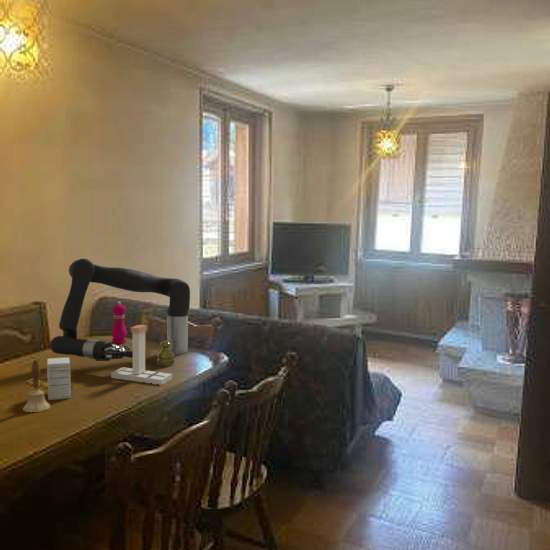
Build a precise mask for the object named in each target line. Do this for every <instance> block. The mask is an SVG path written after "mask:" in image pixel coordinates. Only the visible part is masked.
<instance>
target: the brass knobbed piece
mask: <svg viewBox="0 0 550 550" xmlns="http://www.w3.org/2000/svg"><path fill="white" fill-rule="evenodd" d="M159 345H160V346H161V347H162V348H161V350H160V351H159V352H157V354H156V357H157V359H156V364H157V366H159V365H160V367H169V366H170V365H171V366H173V364H174V365H175V363H176V362H175V360H176V358H175V356H176V354H175V353H174V352H172V351H171V350H170V349H169V347H170V346H171V345H172V343H171V342H169V341H167V339H166V340H164V341H161V342H160V343H159ZM171 366H170V367H171Z"/></svg>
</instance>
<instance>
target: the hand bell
mask: <svg viewBox="0 0 550 550" xmlns="http://www.w3.org/2000/svg"><path fill="white" fill-rule="evenodd" d="M30 373H31V376H32V380H33V382H32V383H33V384H32V385H33V388H32V390H31V391H29V393H28V399H27V402H26V404H25V405H24V406H23V408H22V411H23V412H24V411H25V412H24V413H28V412H31V414H33V413H32V412H34V414H35V413H41V412H45V411H48V410H49V409H50V408H51V404H50V403H49V402H47V400H46V397H45V392H44V391H43V390H41V389H40V386H39V385H40V384H39V383H40V382H39V379H40V375H41V367H40V363H39V361H38V359H33V361H32V364H31V372H30Z"/></svg>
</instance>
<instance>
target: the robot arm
mask: <svg viewBox="0 0 550 550" xmlns="http://www.w3.org/2000/svg"><path fill="white" fill-rule="evenodd" d="M68 273H69V276H70V278H71V285H70V289H69V293H68V296H67V298H66V301H65V303H64V306H63V309H62V313H61V316H60V321H59V323H58V328H59V329H60V330H61V331H62V335H57V336H55V337H53V338H52V339H51V340H50V343H49V348H50V351H52V352H53V353H54V354H58V355H65V356H66V355H67V356H69V355H70V356H71V355H72V356H75V357H80V358H81V357H82V358H87V359H91V360H95V361H102V362H103V361H110V360H109V359H111V360H118V359H119V360H120V359H123V358H124V359H126V358H130V359H133V350H131V348H130V347H128V346H127V345H123V346H118V345H117V346H114V347H113V346H112V344H113V343H112V342H111V341H109V340H108V341H107V340H99V339H85V338H78V326H79V322H80V318H81V314H82V309H83V305H84V300H85V297H86V293H87V290H88V288H89V286H90V283H95V284H102V285H105V286H108V287H113V288H115V289H119V290H123V291H129V292H135V293H152V294H153V293H154V294H159V295H163V296H165V297H169V306H168V308H167V312H166V313H167V314H166V316H167V317H166V319H167V321H166V322H167V323H166V324H167V325H166V331H167V333H166V340H167V341H169V342H171V343H172V345H171V346H170V347H169V349H170V350H171V351H172V352H174V353H175V355H183V354H187V353H188V351H189V350H188V348H189V347H188V343H189V342H188V341H189V329H188V328H189V326H188V325H189V310H190V300H191V290H190V289H191V288H190V285H189V284H188V283H187V282H186V281H184V280H181V279H180V278H170V277H160V276H156V275H152V274H151V273H147V272H143V271H140V270H135V269H130V268H124V267H108V266H107V267H106V266H102V265H98V264H95V263H93V262H92V261H91V260H90V259H88V258H79V259H77V260H74V261H73V262H72V263H71V264H70V265H69V268H68Z"/></svg>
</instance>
